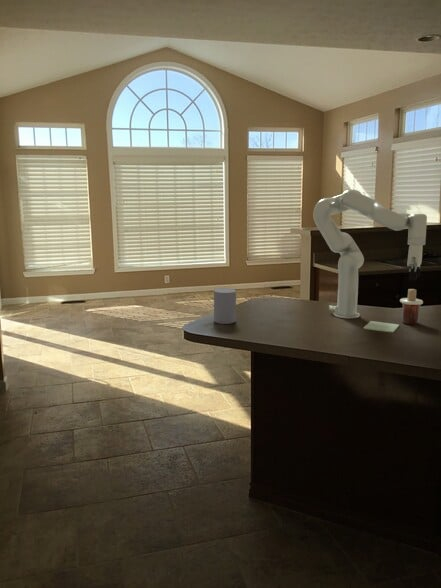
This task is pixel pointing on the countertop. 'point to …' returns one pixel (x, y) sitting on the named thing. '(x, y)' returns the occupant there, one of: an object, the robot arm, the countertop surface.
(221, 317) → the container
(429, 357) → the countertop surface
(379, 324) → the mat
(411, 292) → the lid
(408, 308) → the mug
